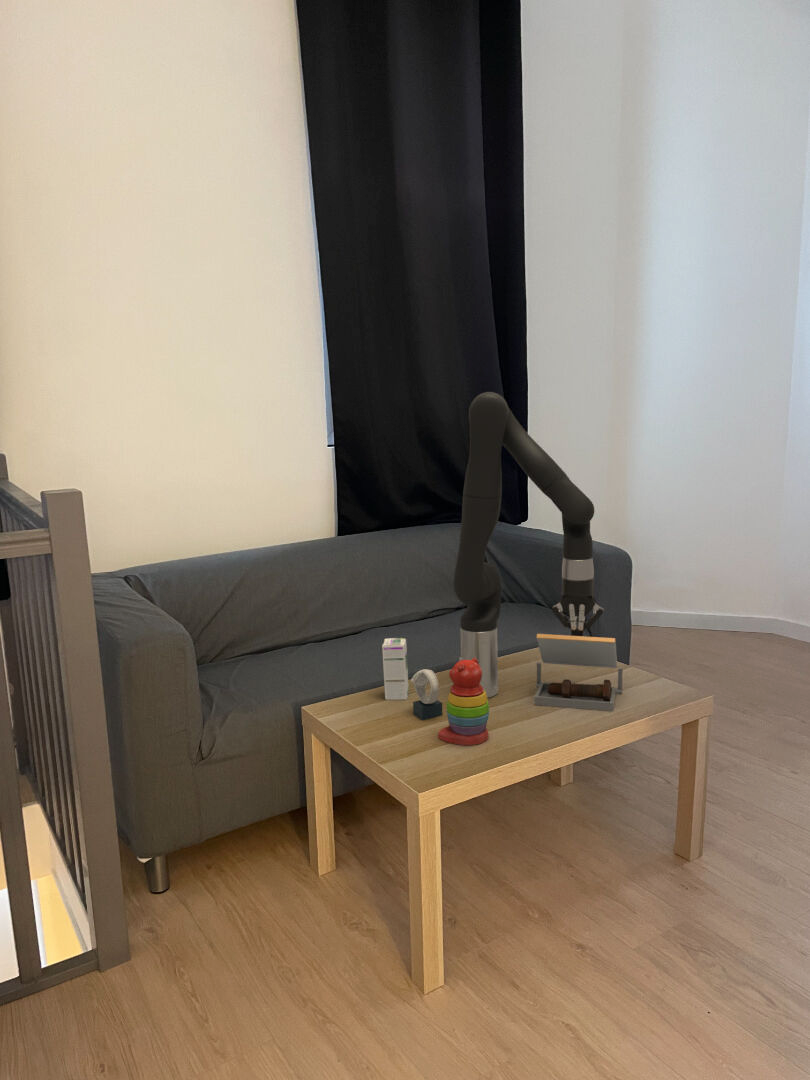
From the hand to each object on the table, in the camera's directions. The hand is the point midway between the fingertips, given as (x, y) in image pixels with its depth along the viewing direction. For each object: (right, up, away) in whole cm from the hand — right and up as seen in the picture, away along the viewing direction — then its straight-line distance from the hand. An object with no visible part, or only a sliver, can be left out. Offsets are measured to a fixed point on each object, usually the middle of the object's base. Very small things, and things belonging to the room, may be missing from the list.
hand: (577, 643), depth 205 cm
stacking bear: (-29, -18, -20) cm, 39 cm away
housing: (0, -13, +1) cm, 13 cm away
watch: (-37, -16, -7) cm, 41 cm away
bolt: (0, -14, -2) cm, 14 cm away
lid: (0, -3, +1) cm, 3 cm away
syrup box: (-45, -14, +6) cm, 47 cm away
